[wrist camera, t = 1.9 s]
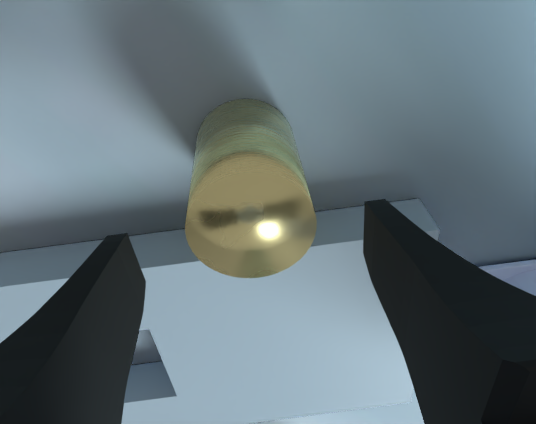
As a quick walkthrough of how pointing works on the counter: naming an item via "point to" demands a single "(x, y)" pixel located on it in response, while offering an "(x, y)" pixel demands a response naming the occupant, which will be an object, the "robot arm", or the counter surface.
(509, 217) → the counter surface
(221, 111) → the gold metal cylinder
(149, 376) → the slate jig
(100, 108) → the counter surface
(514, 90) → the counter surface
